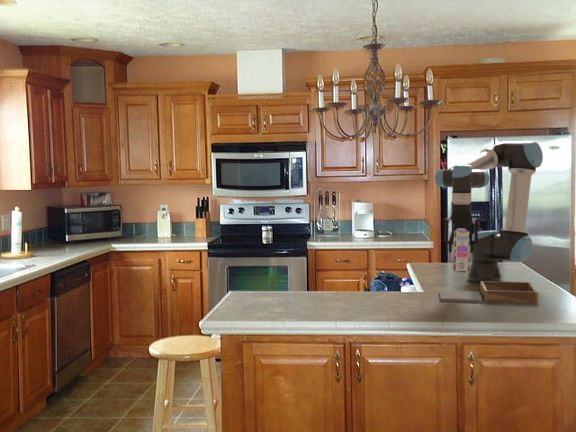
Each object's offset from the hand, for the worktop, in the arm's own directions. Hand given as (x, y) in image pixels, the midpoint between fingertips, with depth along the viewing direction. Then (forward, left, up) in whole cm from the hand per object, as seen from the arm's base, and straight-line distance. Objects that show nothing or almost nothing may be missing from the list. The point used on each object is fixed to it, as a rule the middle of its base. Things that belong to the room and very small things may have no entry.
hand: (460, 260), depth 264 cm
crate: (-4, +19, -15) cm, 25 cm away
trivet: (0, 0, -15) cm, 15 cm away
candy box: (0, 0, -4) cm, 4 cm away
